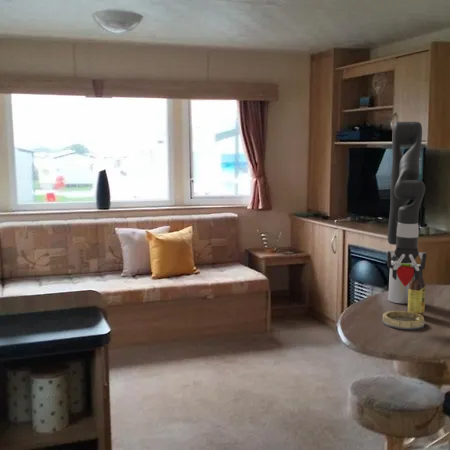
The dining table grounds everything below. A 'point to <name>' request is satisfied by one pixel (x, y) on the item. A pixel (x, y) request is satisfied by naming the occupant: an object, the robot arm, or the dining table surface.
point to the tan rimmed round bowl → (403, 320)
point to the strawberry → (405, 273)
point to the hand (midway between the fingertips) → (405, 279)
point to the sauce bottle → (416, 294)
